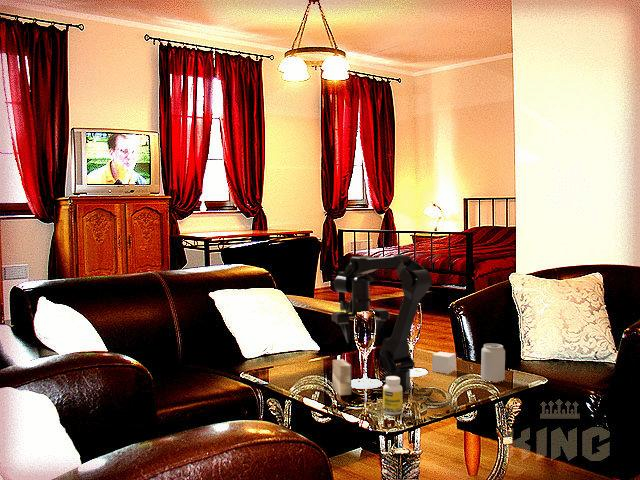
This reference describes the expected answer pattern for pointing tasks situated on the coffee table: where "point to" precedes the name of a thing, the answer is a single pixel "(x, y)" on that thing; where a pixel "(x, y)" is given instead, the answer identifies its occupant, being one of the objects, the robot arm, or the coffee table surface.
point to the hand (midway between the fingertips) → (360, 341)
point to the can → (493, 362)
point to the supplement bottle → (392, 396)
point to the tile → (342, 377)
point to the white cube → (443, 362)
